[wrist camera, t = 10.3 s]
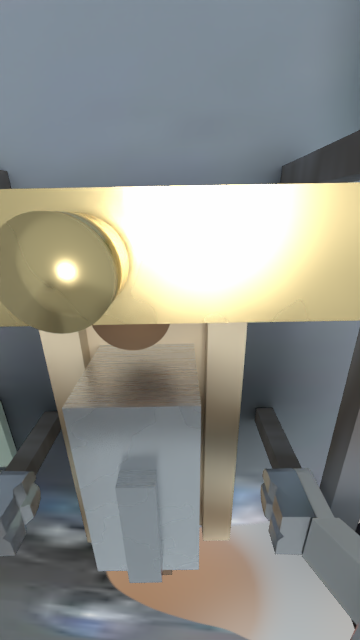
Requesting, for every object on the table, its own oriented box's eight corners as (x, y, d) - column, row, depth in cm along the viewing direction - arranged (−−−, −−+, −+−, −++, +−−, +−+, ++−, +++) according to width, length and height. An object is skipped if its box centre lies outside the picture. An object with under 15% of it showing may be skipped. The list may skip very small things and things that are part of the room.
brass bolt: (477, 295, 5) (659, 345, 3) (-257, 308, 5) (-520, 364, 3) (522, 187, 5) (787, 164, 3) (-328, 201, 5) (-714, 192, 3)
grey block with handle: (193, 477, 14) (199, 589, 10) (118, 478, 14) (93, 590, 10) (193, 343, 11) (202, 421, 7) (100, 345, 11) (52, 423, 7)
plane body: (262, 477, 19) (316, 643, 11) (62, 480, 19) (-12, 647, 11) (305, 165, 12) (511, 86, 4) (-16, 171, 12) (-331, 102, 4)
